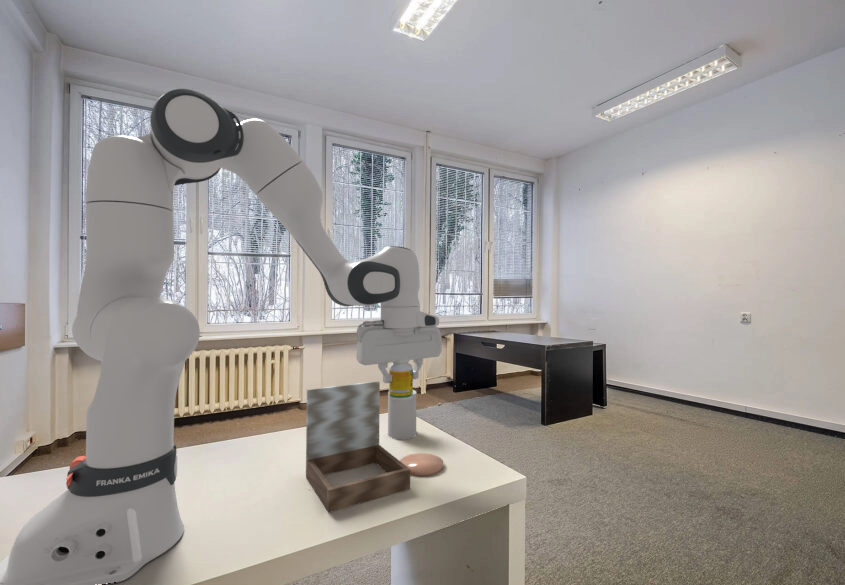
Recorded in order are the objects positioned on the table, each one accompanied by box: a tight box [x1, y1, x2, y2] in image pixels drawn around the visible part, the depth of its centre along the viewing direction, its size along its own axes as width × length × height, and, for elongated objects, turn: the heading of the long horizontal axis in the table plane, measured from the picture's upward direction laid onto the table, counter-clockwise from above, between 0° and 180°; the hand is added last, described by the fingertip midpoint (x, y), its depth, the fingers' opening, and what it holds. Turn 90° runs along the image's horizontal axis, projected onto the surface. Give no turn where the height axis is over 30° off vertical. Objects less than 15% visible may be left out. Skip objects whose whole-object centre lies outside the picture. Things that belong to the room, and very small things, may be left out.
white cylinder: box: [387, 389, 417, 440], centre depth 110 cm, size 8×8×12 cm
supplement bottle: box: [388, 356, 414, 401], centre depth 87 cm, size 5×5×10 cm
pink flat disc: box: [399, 452, 444, 477], centre depth 89 cm, size 10×10×1 cm
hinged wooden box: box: [305, 380, 411, 513], centre depth 81 cm, size 17×16×19 cm
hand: (401, 380), depth 87 cm, fingers closed on supplement bottle, 5 cm apart
